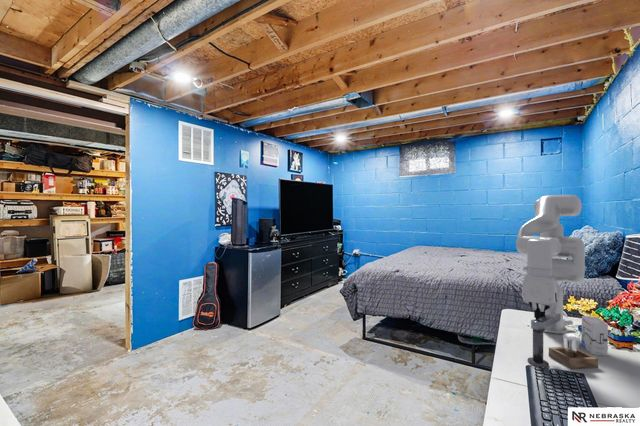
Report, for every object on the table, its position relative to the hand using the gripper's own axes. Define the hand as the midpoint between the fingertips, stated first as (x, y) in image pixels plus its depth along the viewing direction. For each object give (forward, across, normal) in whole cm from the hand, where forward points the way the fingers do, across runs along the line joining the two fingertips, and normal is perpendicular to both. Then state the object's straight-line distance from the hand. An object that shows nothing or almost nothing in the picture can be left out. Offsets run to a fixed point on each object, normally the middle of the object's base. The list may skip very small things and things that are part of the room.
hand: (539, 320), depth 114 cm
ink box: (+12, +11, +18) cm, 25 cm away
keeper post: (+12, +3, -11) cm, 16 cm away
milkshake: (+11, +10, +1) cm, 15 cm away
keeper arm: (0, +3, -3) cm, 5 cm away
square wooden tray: (+12, +10, +1) cm, 15 cm away
